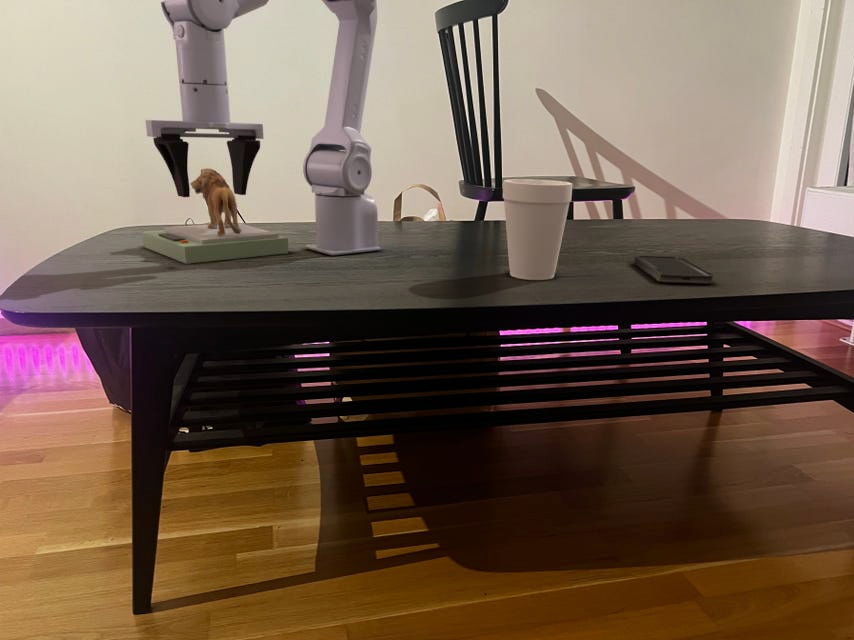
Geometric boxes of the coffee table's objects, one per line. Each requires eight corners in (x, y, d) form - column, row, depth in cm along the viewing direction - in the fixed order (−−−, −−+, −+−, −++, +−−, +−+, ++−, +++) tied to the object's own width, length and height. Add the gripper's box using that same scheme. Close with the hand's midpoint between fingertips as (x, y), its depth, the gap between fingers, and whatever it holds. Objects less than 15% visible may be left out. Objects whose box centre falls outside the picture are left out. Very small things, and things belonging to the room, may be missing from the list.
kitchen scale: (240, 239, 120) (239, 221, 119) (288, 253, 109) (287, 233, 108) (143, 247, 109) (141, 227, 108) (186, 263, 98) (184, 242, 97)
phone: (681, 257, 112) (715, 276, 98) (680, 264, 113) (714, 284, 99) (632, 255, 112) (660, 274, 98) (632, 262, 112) (659, 282, 98)
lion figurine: (191, 225, 113) (186, 167, 110) (225, 223, 116) (220, 167, 113) (222, 238, 102) (217, 174, 99) (258, 236, 105) (254, 174, 102)
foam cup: (557, 285, 95) (564, 186, 90) (491, 278, 97) (496, 182, 93) (569, 272, 103) (577, 181, 99) (509, 266, 106) (513, 178, 101)
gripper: (156, 80, 81) (169, 200, 85) (272, 88, 90) (277, 196, 95) (134, 81, 85) (147, 195, 90) (246, 89, 95) (253, 191, 99)
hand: (212, 195), depth 92 cm, fingers open, 7 cm apart
